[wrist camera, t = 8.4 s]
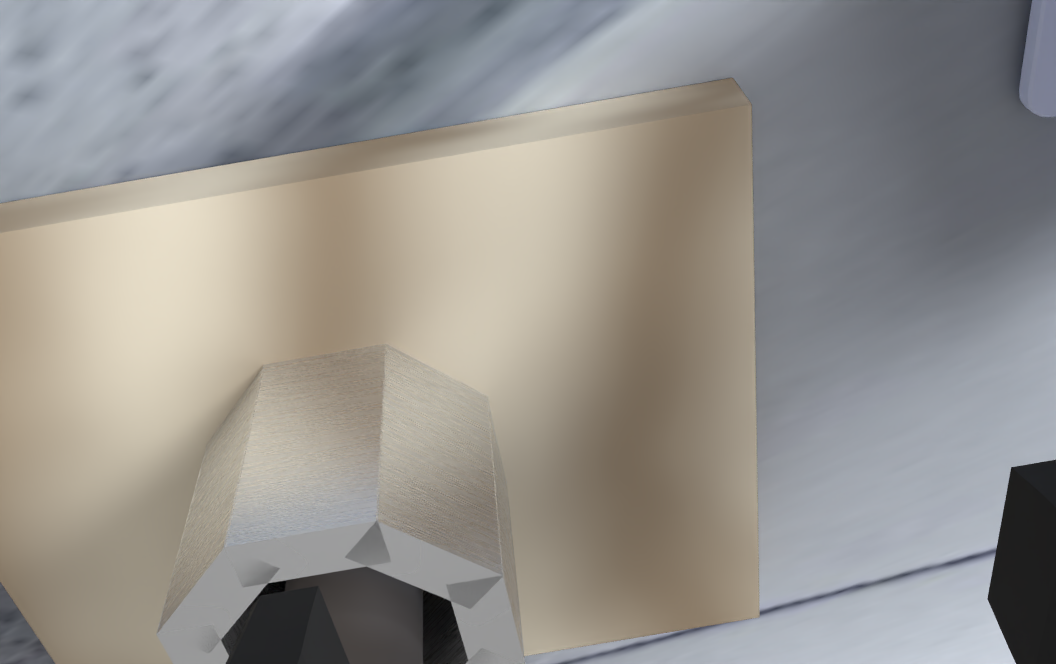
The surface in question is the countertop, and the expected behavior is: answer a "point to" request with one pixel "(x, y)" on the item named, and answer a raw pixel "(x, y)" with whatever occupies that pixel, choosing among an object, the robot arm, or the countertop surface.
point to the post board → (419, 331)
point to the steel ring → (351, 504)
